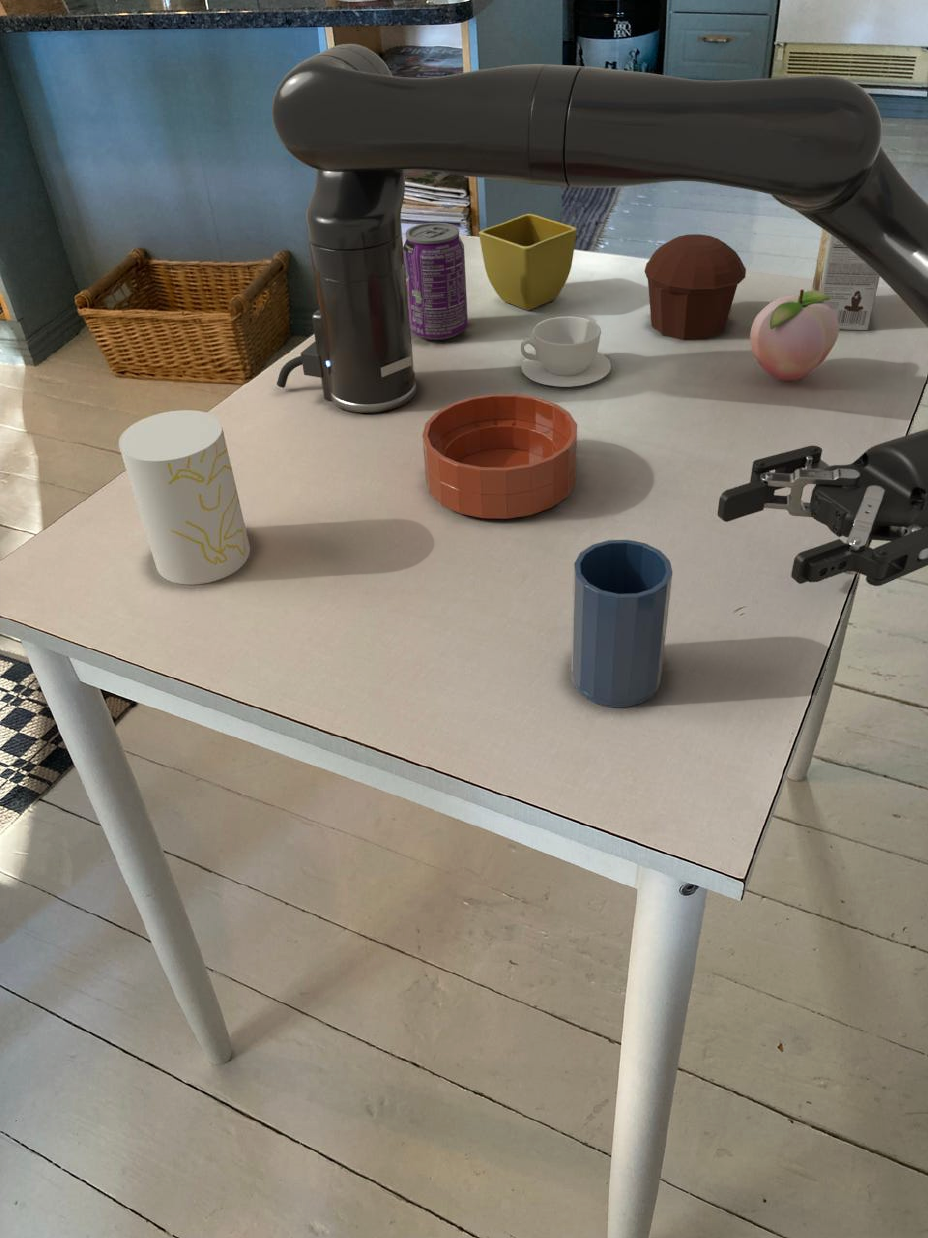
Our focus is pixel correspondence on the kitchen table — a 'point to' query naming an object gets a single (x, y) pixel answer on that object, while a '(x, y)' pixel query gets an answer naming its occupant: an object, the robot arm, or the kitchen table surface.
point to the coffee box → (845, 283)
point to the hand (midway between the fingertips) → (757, 538)
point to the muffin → (692, 286)
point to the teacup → (565, 353)
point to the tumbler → (619, 621)
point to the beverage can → (435, 281)
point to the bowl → (500, 455)
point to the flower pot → (528, 259)
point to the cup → (186, 495)
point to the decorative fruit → (794, 334)
